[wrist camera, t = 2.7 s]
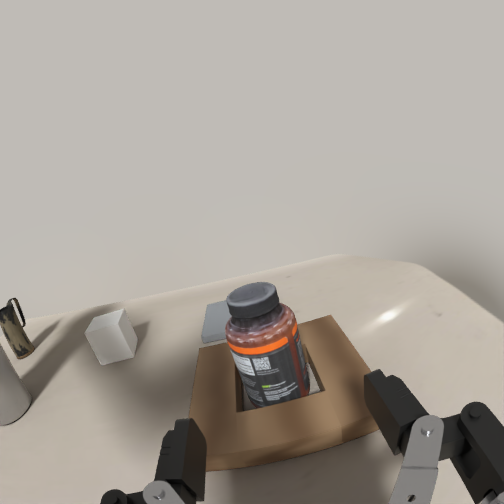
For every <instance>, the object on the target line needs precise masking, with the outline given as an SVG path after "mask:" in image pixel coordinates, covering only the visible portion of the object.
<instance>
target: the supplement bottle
mask: <svg viewBox="0 0 504 504" xmlns="http://www.w3.org/2000/svg"><path fill="white" fill-rule="evenodd" d="M226 302H227V305H228V308H229V313H230V314H231V315H232V316H231V318H230V319H229V320H228V322H227V324H226V327H225V335H226V339H227V342H228V344H229V347H230V350H231V353H232V355H233V358H234V361H235V363H236V366H237V368H238V371H239V374H240V376H241V379H242V381H243V384H244V386H245V389H246V391H247V394H248V397H249V399H250V401H251V403H252V404H253V405H254V406H255V407H256V408H257V409H258V408H262V407H267V406H271V405H275V404H279V403H283V402H287V401H291V400H295V399H298V398H302V397H306V396H307V395H308V393H309V388H310V384H309V378H308V373H307V368H306V364H305V359H304V354H303V349H302V345H301V340H300V335H299V331H298V327H297V322H296V318H295V315H294V313H293V311H292V310H291V309H290V308H289V307H288V306H286V305H284V304H282V303H279V297H278V295H277V291H276V287H275V286H274V285H273V284H271V283H267V282H257V283H251V284H247V285H244V286H242V287H240V288H237V289H235V290H234V291H233V292H231V293H230V294H229V295H228V296H227V299H226Z"/></svg>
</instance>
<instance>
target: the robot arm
mask: <svg viewBox="0 0 504 504" xmlns="http://www.w3.org/2000/svg"><path fill="white" fill-rule="evenodd" d="M364 399H365V403H366V406H367V408H368V410H369V411H370V413H371V415H372V417H373V418H374V420H375V422H376V424H377V425H378V427H379V429H380V431H381V432H382V434H383V436H384V438H385V440H386V441H387V443H388V445H389V447H390V448H391V450H392V452H393V454H394V455H397V454H399V453H402V454H403V456H404V460H403V463H402V466H401V469H400V473H399V476H398V479H397V481H396V484H395V487H394V490H393V493H392V495H391V498H390V500H389V503H388V504H430V501H431V498H432V495H433V491H434V487H435V483H436V479H437V475H438V468H437V465H438V461H441V460H444V459H448V458H450V460H451V461H452V463H453V465H454V467H455V468H456V470H457V472H458V474H459V475H460V477H461V479H462V481H463V482H464V484H465V486H466V488H467V490H468V492H469V493H470V495H471V497H472V499H473V501H474V503H475V504H504V426H503V425H502V424H501V423H500V421H499V420H498V419H497V418H496V417H495V415H494V414H493V413H492V412H491V411H490V409H489V408H488V407H487V406H486V405H485V404H483V403H481V402H472V403H469V404H467V405H466V406H465V407H464V408H463V409H462V411H461V413H460V414H457V415H454V416H450V417H447V418H439V417H437V416H434V415H429V414H428V413H427V412H426V410H425V409H424V408H423V406H422V405H421V404H420V403H419V401H418V400H417V399H416V397H415V396H414V395H413V394H412V393H411V391H410V390H409V389H408V388H407V386H406V385H405V384H404V382H403V381H402V380H401V379H400V378H398V377H396V376H394V375H390V376H388V377H386V376H385V375H384V374H383V372H382V371H381V370H380V369H378V370H375V371H373V372H370V373H368V374H365V375H364ZM30 403H31V395H30V393H29V392H28V390H27V389H26V387H25V386H24V384H23V382H22V381H21V379H20V378H19V376H18V374H17V373H16V371H15V369H14V367H13V366H12V364H11V362H10V361H9V359H8V357H7V355H6V353H5V351H4V350H3V348H2V346H1V344H0V425H6V424H9V423H12V422H14V421H15V420H17V419H18V418H19V417H21V416H22V415H23V414H24V413H25V411H26V410H27V409H28V407H29V405H30ZM161 448H162V449H161V450H160V456H159V460H158V465H157V469H156V474H155V479H154V482H151V483H149V484H148V485H147V486H146V487H145V488H144V491H141V492H136V493H131V494H125V493H124V492H122V491H120V490H117V489H114V490H110V491H107V492H106V493H105V494H104V495H103V497H102V499H101V503H100V504H196V501H204V494H205V473H206V456H207V443H206V439H205V437H204V435H203V433H202V432H201V430H200V429H199V427H198V425H197V424H196V422H195V421H194V419H193V418H187V419H178V420H176V422H175V427H174V430H170V431H168V432H167V434H166V435H165V437H164V438H163V441H162V446H161Z"/></svg>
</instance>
